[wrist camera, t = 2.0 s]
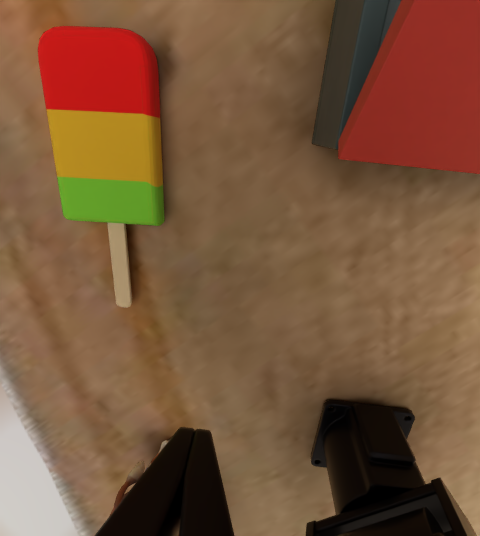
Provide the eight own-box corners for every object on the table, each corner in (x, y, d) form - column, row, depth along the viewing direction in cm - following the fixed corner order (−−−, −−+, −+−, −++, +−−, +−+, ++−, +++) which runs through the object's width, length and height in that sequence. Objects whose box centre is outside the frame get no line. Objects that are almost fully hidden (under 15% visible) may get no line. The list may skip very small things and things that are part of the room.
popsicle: (159, 37, 16) (147, 25, 15) (169, 303, 22) (162, 317, 20) (51, 32, 17) (27, 21, 15) (89, 297, 22) (75, 311, 21)
